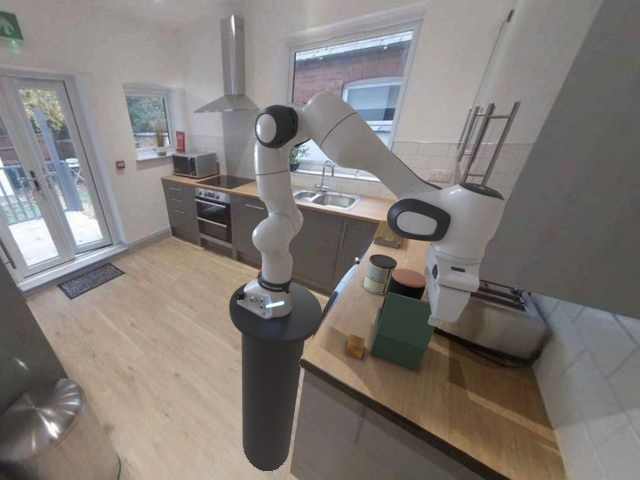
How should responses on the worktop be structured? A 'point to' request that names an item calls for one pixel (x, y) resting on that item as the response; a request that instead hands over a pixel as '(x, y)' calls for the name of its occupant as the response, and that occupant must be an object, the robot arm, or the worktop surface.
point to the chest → (394, 348)
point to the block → (355, 346)
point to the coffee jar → (406, 284)
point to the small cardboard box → (386, 228)
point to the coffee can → (379, 273)
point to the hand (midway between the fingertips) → (429, 310)
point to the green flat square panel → (406, 320)
